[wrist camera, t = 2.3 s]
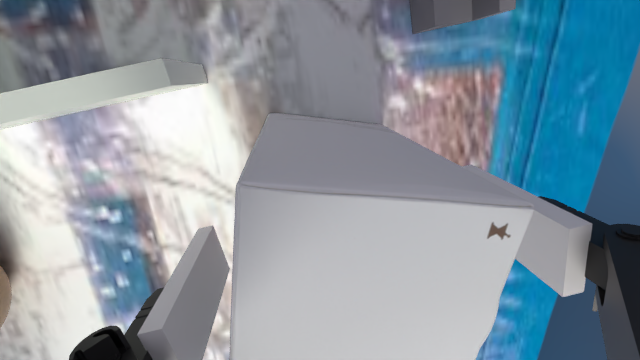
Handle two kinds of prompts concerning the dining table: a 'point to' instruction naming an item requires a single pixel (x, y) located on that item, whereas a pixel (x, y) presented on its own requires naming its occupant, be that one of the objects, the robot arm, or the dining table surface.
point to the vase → (4, 296)
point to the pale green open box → (97, 90)
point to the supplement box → (365, 247)
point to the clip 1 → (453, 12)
